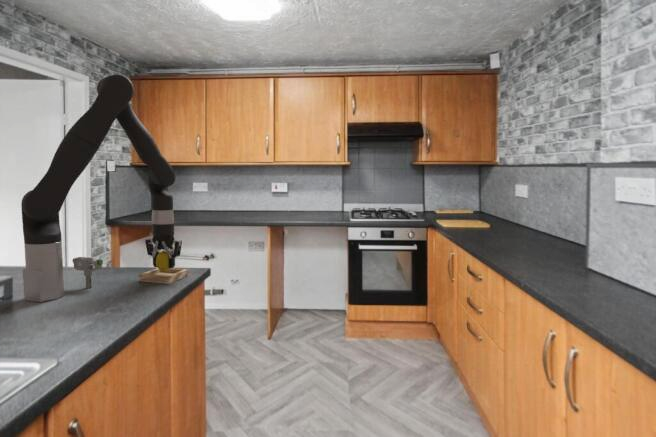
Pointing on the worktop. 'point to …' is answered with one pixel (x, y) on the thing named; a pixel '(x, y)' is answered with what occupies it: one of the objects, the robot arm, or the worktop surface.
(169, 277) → the tray
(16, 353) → the worktop surface
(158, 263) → the lemon
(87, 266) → the mechanical component
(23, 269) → the robot arm
